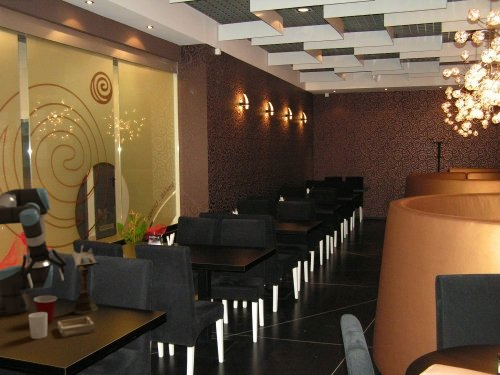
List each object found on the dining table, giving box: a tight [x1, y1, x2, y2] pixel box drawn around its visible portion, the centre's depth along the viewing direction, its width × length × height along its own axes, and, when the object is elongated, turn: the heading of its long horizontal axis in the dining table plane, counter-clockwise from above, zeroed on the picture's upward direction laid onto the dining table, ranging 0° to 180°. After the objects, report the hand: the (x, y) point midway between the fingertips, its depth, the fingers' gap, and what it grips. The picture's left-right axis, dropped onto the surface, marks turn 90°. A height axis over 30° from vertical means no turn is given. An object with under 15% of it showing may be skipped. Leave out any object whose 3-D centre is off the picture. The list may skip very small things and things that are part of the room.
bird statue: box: [71, 244, 100, 315], centre depth 275 cm, size 17×13×35 cm
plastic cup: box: [33, 295, 58, 324], centre depth 261 cm, size 11×11×12 cm
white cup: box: [28, 311, 48, 340], centre depth 239 cm, size 8×8×10 cm
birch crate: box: [56, 316, 95, 338], centre depth 247 cm, size 14×14×4 cm
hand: (47, 282), depth 245 cm, fingers open, 13 cm apart
